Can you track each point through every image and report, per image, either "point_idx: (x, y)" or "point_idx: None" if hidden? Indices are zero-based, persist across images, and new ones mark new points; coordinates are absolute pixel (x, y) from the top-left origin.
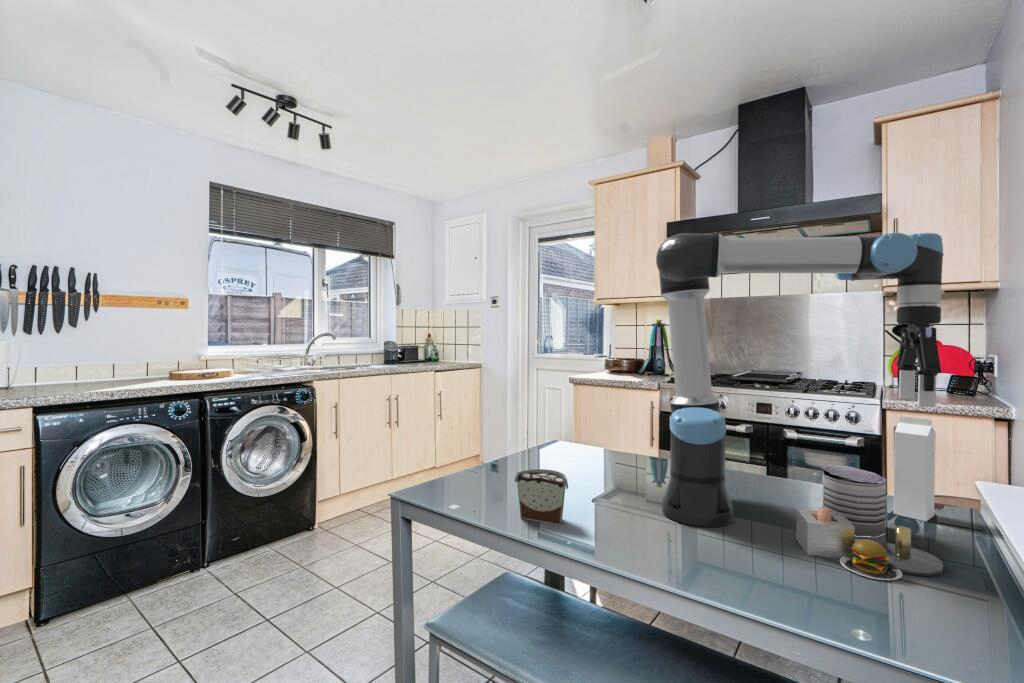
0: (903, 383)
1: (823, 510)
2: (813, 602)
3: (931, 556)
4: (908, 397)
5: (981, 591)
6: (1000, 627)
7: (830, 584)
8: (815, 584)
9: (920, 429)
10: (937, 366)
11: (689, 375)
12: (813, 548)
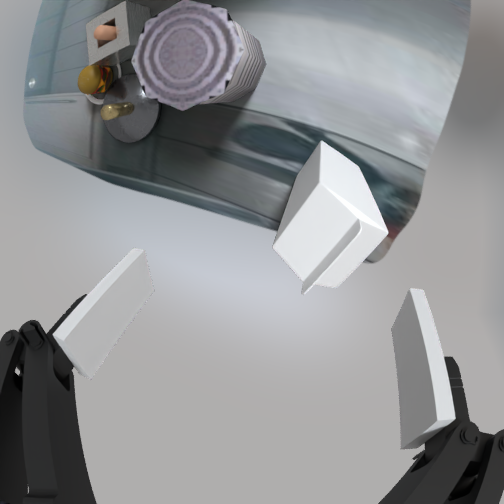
0: (418, 357)
1: (96, 32)
2: (48, 53)
3: (138, 135)
4: (400, 317)
5: (103, 160)
6: (63, 155)
7: (69, 55)
8: (66, 47)
9: (302, 250)
10: (19, 375)
11: None
12: None
